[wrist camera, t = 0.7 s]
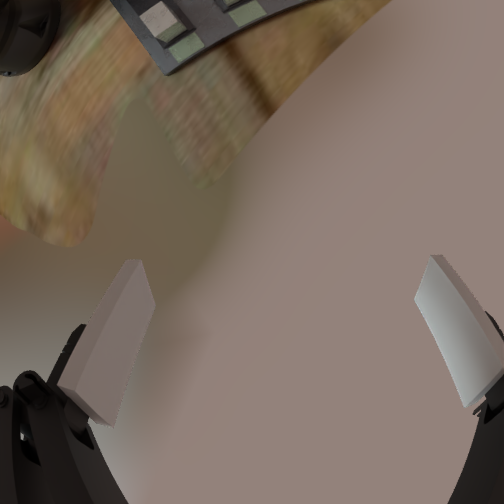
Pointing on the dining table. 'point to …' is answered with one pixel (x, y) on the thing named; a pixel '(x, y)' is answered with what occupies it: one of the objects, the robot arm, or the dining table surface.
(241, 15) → the panel
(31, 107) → the dining table surface
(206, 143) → the dining table surface
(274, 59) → the dining table surface
